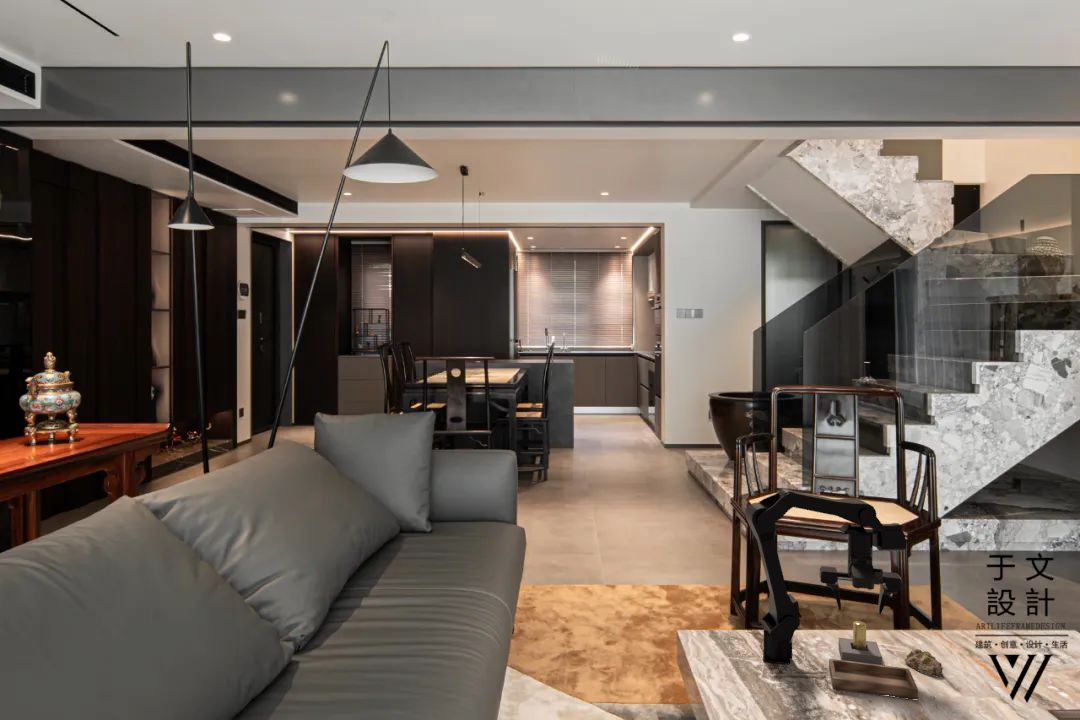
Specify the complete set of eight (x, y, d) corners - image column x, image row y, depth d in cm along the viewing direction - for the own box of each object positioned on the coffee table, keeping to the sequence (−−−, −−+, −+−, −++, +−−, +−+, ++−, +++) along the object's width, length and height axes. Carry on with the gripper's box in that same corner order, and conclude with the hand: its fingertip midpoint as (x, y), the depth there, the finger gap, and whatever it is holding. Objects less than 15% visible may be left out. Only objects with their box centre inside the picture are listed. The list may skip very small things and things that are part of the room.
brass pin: (853, 660, 175) (853, 625, 174) (852, 655, 178) (852, 620, 177) (866, 662, 174) (866, 626, 174) (865, 656, 177) (865, 621, 176)
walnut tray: (832, 688, 160) (832, 678, 160) (829, 668, 170) (829, 658, 170) (918, 700, 155) (918, 689, 155) (908, 678, 165) (908, 668, 165)
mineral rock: (896, 648, 177) (927, 641, 176) (900, 664, 177) (932, 657, 176) (916, 669, 166) (950, 661, 165) (921, 687, 166) (954, 679, 165)
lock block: (842, 663, 173) (842, 651, 173) (838, 648, 181) (838, 637, 181) (881, 668, 170) (881, 656, 170) (876, 653, 178) (876, 641, 178)
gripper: (822, 556, 170) (822, 619, 171) (907, 563, 164) (906, 628, 165) (819, 543, 181) (819, 603, 181) (899, 550, 175) (898, 611, 175)
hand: (859, 611), depth 175 cm, fingers open, 9 cm apart
